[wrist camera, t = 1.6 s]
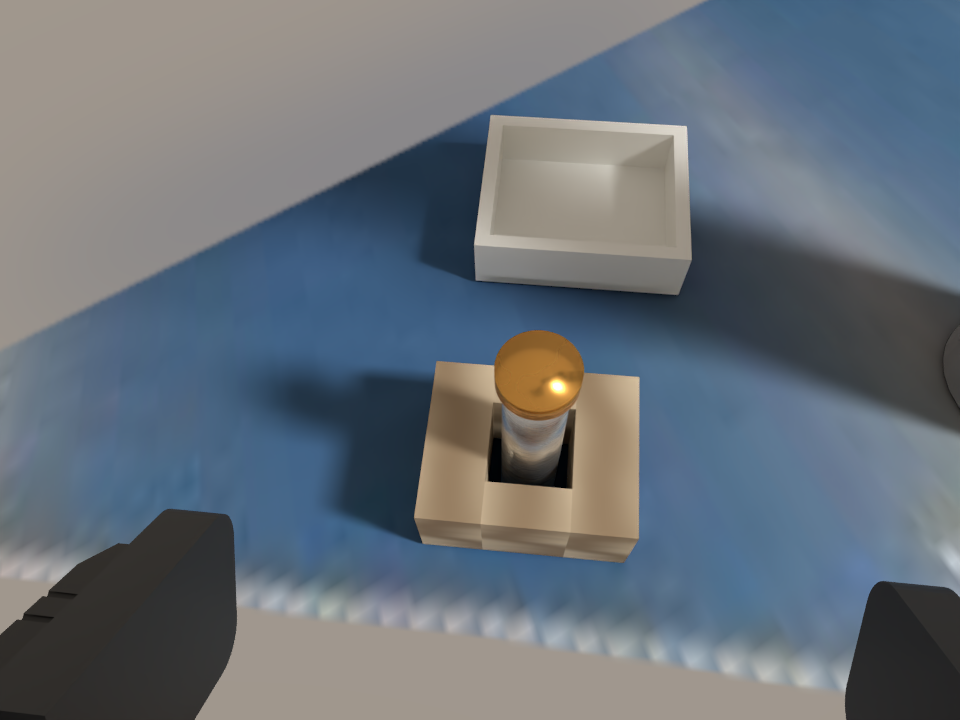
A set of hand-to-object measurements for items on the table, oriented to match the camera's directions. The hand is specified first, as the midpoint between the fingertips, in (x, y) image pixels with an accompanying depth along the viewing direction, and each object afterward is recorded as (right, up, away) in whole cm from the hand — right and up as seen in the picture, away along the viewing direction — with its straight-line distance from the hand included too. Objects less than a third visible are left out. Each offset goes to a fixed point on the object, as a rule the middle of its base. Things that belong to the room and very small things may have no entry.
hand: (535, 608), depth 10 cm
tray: (+6, +12, +38) cm, 40 cm away
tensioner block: (+2, -3, +30) cm, 30 cm away
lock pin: (+2, -3, +30) cm, 30 cm away
